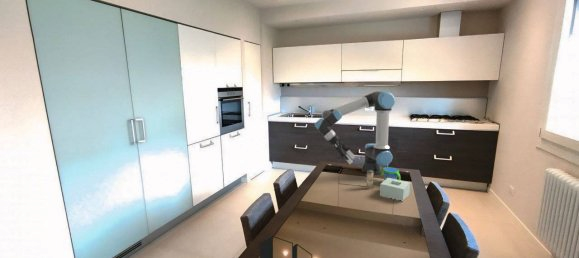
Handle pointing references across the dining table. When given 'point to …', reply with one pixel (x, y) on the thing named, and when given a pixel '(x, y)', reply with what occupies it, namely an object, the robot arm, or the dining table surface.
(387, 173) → the snack cup
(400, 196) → the block
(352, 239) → the dining table surface
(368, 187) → the wooden peg
